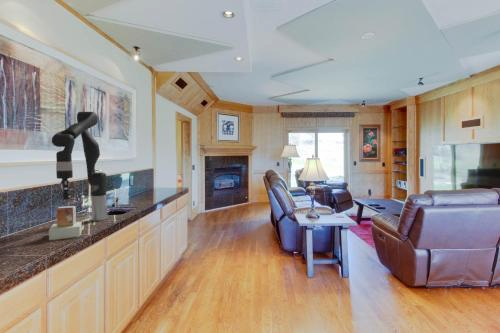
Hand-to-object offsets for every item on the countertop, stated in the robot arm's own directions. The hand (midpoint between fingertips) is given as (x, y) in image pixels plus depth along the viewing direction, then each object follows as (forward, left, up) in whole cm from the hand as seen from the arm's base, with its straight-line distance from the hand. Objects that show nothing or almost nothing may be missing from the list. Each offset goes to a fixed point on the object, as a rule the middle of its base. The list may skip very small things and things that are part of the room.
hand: (65, 198), depth 154 cm
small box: (0, 0, -16) cm, 16 cm away
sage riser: (0, 0, -22) cm, 22 cm away
